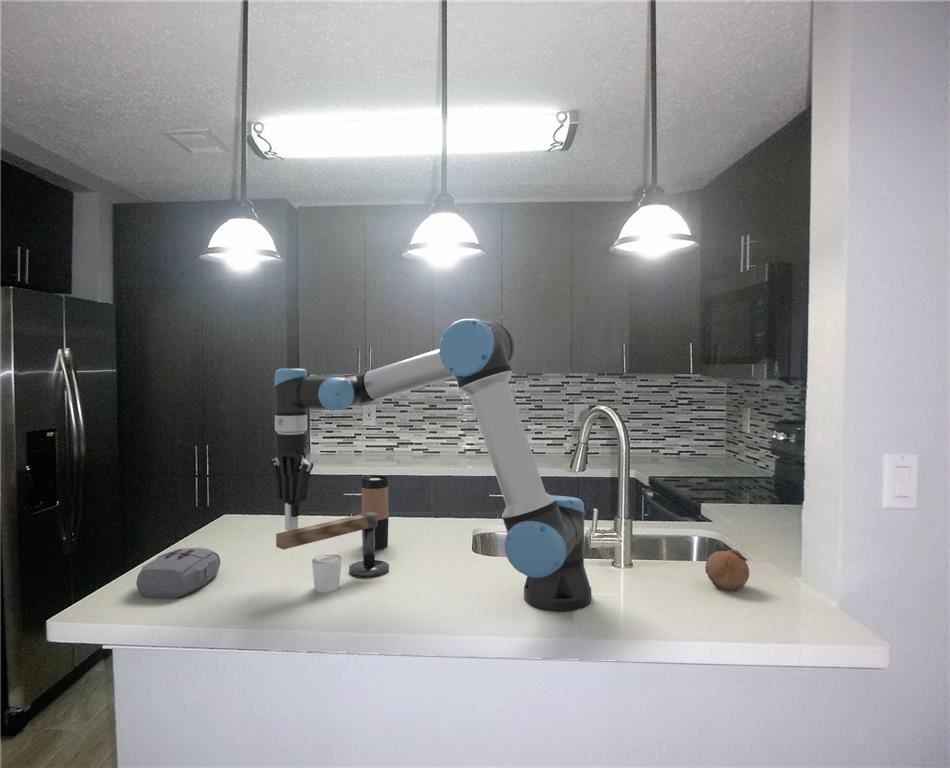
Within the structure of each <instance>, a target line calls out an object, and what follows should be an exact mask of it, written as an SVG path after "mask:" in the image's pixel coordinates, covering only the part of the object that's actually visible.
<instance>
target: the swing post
mask: <svg viewBox="0 0 950 768" xmlns="http://www.w3.org/2000/svg"><path fill="white" fill-rule="evenodd" d="M389 571H390V564H389V563H388V562H387V561H384V560H379V559H376V550H375V528H368V529H364V530H363V541H362V560H360V561H356V562H353V563H352V564H350V565H349V566H348V574H350V575H351V576H353V577H354V578H355V577H356V578H363V579H365V578H366V579H369V578H377V577H381V576H384V575H386V574H387V573H389Z"/></svg>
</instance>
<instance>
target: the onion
mask: <svg viewBox="0 0 950 768" xmlns="http://www.w3.org/2000/svg"><path fill="white" fill-rule="evenodd" d="M746 561H747V559H746V557H744V555H742V552H740V551H738V550H736V549H726V550H717V551H715V552H713V553H711V554H710V555H709V556H708V558H707V560H706V563H705V573H706V575H707V577H708V579H709V581H710V582H711V583H712V584H713V586H714V587H715V588H716V589H718V590H720V589H721V590H724V591H728V592H738V591H739V590H742V589H743V588H744V587H745V584H747V582H748V580H749V578H750V569H749V565H748V562H746Z"/></svg>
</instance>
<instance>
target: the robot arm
mask: <svg viewBox="0 0 950 768" xmlns="http://www.w3.org/2000/svg"><path fill="white" fill-rule="evenodd" d="M439 341H440V342H439V348H438V349H434V350H431V351H428V352H425V353H422V354H419V355H416V356H413V357H409V358H406V359H403V360H401V361H397V362H394V363H391V364H387V365H384V366H381V367H378V368H375V369H372V370H368V371H367V372H362V373H358V374H356V375H351V376H328V377H327V376H325V377H323V376H321V377H320V376H319V377H317V376H316V377H315V376H313V377H312V376H308V371H307V369H306V368H278V369H276V370H275V372H274V381H273V383H274V384H273V390H274V392H273V393H274V394H273V395H274V431H275V432H276V433H275V434H274V448H275V450H277V453H276V457H275V458H271V459H270V460H269V465H270V467H271V469H272V473H273V474H272V475H273V479H274V480H273V482H274V486H275V492H276V498H277V499H278V500H281V502H282V503H283V516H284V530H285V532H286V531H290V530H295V529H299V516H300V504H301V502H304V501H306V500H307V494H308V489H309V482H310V479H311V478H310V477H311V472H312V470H313V468H314V463H313V462H309V461H308V460H307V456H306V453H305V450H306V449H307V447H308V434H307V433H306V431H308V409H312V410H313V409H314V410H315V409H316V410H329V411H341V410H342V411H344V410H346V409H348V407H357V406H358V407H362V406H366V405H369V404H371V403H373V402H375V401H379V400H382V399H384V398H388V397H392V396H395V395H398V394H402V393H405V392H409V391H413V390H416V389H420V388H423V387H425V386H430V385H433V384H436V383H440V382H443V381H447V380H450V379H454V378H455V380H456V383H457V386H458V389H459V391H460V392H462V393H464V394H466V395H467V396H468V397H469V398H470V402H471V405H472V407H473V411H474V414H475V417H476V420H477V423H478V426H479V429H480V432H481V434H482V435H481V436H482V437H483V441H484V444H485V446H486V450H487V452H488V455H489V458H490V461H491V464H492V467H493V471H494V474H495V477H496V479H497V482H498V485H499V488H500V491H501V495H502V497H503V500H504V503H505V508H504V510H503V511H502V512H503V513H502V514H501V517H502V520H503V523H504V526H505V530H506V532H507V534H506V536H505V541H504V553H505V555H506V556H505V557H506V558H507V561H508V562H509V563H510V564H511V566H512V567H513V568H514V569H515V570H516V571H517V572H519V573H521V574H523V575H525V576H526V579H525V581H524V582H525V583H524V585H523V599H524V600H525V602H526V603H527V604H529V605H531V606H533V607H534V608H535V607H536V608H537V609H542V610H547V611H554V612H569V611H577V610H582V609H585V608H587V607H588V606H589V605H590V604H591V603H592V587H591V584H590V582H589V578H588V574H587V572H586V568H585V562H584V561H585V559H584V556H585V553H584V550H585V515H586V513H585V512H586V511H585V504H584V502H583V500H582V499H580V498H578V497H573V496H565V495H553V494H552V495H551V494H549V493H548V492H546V489H545V486H544V484H543V480H542V477H541V474H540V471H539V468H538V466H537V463H536V460H535V457H534V454H533V451H532V448H531V445H530V442H529V440H528V437H527V434H526V431H525V428H524V426H523V423H522V419H521V415H520V413H519V411H518V407H517V405H516V402H515V399H514V397H513V393H512V389H511V387H510V384H509V381H510V379H511V376H512V374H513V370H512V367H511V364H510V363H511V362H512V361H513V359H514V356H515V351H516V344H515V340H514V337H513V335H512V333H511V332H510V330H509V329H507V327H505V326H504V325H502V324H501V323H498V322H494V321H488V320H483V319H481V318H476V317H472V318H470V317H469V318H462V319H459V320H456V321H455V322H453V323H452V324H450V325H448V327H447V328H446V329H445V330H444V332H443V334H442V336H441V338H440V340H439Z"/></svg>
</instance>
